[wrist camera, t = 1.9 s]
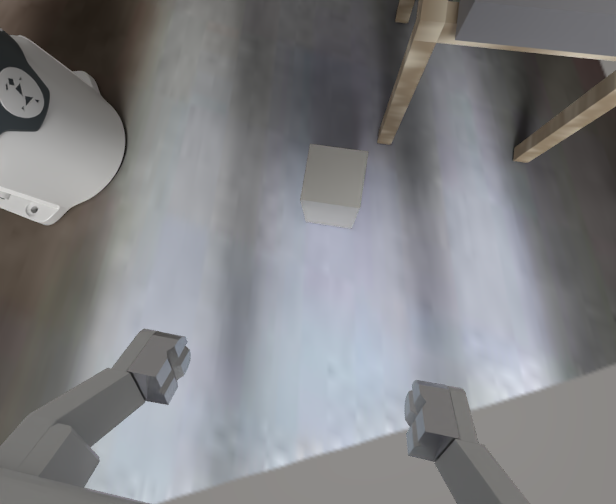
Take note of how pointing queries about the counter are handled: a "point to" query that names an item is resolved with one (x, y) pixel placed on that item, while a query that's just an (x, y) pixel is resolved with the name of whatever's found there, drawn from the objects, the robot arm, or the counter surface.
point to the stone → (333, 185)
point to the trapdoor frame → (442, 29)
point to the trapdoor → (540, 24)
